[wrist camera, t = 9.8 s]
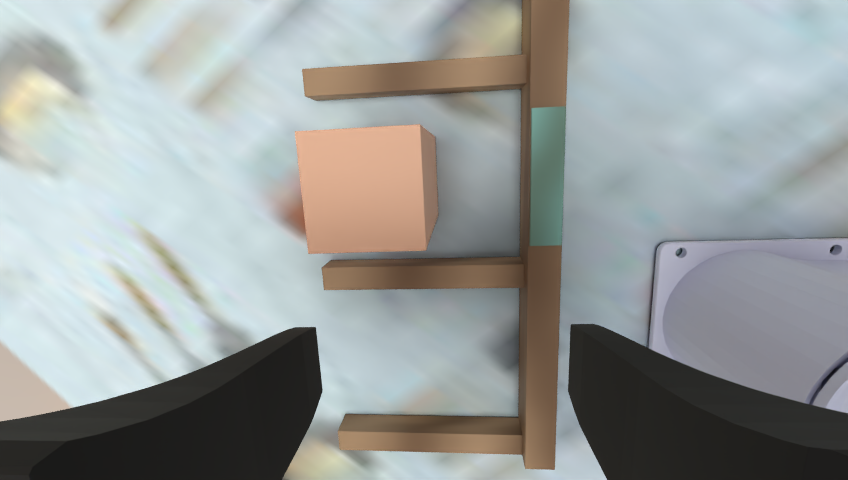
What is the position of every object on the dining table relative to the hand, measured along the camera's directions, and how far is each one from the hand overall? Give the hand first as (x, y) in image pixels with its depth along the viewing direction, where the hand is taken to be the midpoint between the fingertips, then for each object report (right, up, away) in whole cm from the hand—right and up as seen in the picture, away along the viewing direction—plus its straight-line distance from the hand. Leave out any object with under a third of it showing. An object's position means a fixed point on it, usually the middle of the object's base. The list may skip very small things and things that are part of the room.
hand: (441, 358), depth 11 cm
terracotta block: (-2, +7, +9) cm, 12 cm away
